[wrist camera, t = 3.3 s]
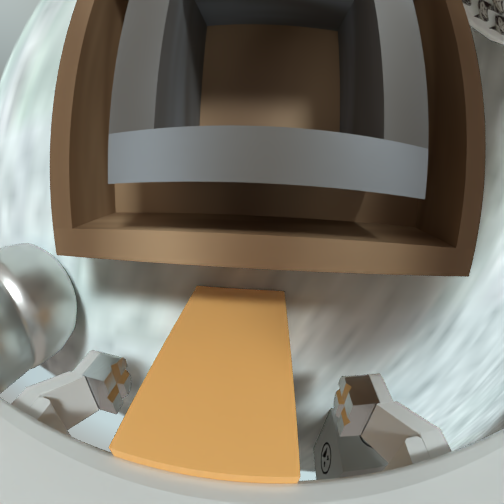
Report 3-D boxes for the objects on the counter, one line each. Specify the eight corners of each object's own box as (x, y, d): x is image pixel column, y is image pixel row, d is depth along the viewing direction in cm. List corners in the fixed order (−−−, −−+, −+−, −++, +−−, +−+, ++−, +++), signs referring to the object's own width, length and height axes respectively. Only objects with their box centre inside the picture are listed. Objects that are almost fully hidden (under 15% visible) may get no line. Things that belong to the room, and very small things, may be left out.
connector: (284, 290, 13) (301, 500, 3) (277, 359, 14) (278, 538, 5) (197, 285, 13) (98, 466, 4) (201, 354, 14) (145, 520, 5)
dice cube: (313, 447, 16) (318, 503, 12) (330, 407, 15) (343, 471, 10) (374, 443, 16) (387, 492, 11) (399, 402, 15) (422, 457, 10)
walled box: (416, 6, 8) (464, -38, 3) (420, 245, 12) (489, 290, 7) (128, -6, 8) (79, -52, 3) (108, 230, 12) (34, 266, 7)
